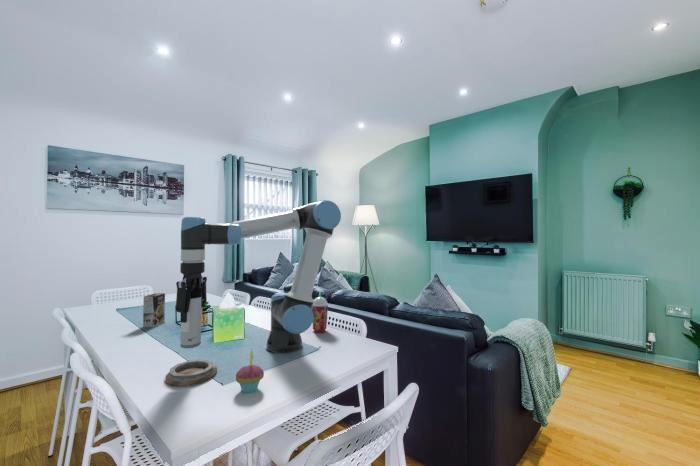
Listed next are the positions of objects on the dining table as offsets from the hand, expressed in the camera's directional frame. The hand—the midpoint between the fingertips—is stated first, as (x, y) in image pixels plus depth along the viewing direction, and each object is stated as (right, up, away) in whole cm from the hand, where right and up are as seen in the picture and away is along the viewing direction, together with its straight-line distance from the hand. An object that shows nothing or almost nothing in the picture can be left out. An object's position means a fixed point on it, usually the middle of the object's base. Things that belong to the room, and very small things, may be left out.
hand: (191, 328), depth 111 cm
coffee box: (-49, -16, +59) cm, 79 cm away
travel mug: (0, -6, 0) cm, 6 cm away
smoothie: (+39, -17, +51) cm, 67 cm away
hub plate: (0, -16, 0) cm, 16 cm away
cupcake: (+23, -17, -9) cm, 30 cm away
